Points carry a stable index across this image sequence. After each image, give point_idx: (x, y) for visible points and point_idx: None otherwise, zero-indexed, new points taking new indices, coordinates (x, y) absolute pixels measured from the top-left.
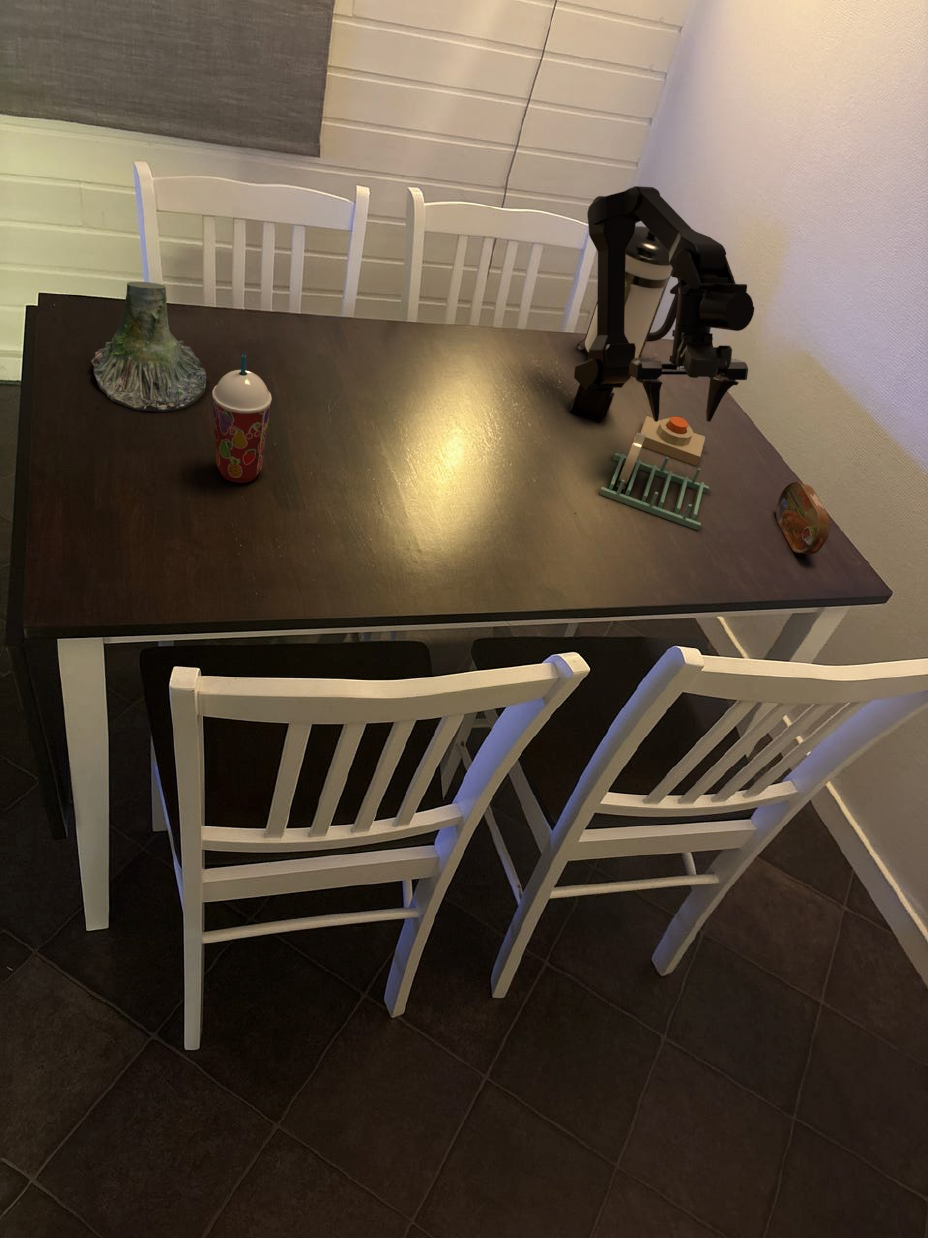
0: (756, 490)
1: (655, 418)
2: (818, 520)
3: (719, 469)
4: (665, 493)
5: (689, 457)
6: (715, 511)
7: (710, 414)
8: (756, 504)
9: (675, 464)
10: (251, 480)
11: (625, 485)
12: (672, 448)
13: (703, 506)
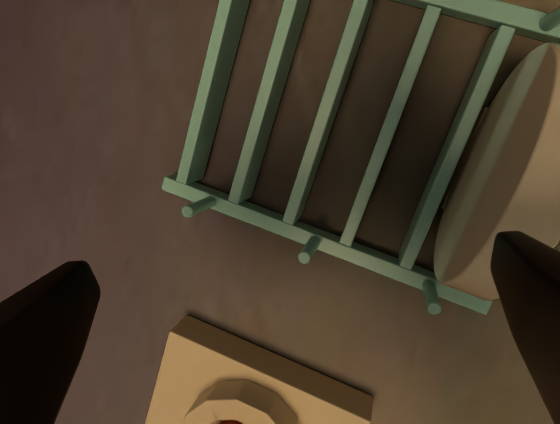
0: (31, 233)
1: (536, 240)
2: None
3: (120, 312)
4: (337, 58)
5: (204, 335)
6: (157, 84)
7: (46, 287)
8: (36, 163)
9: (251, 311)
10: None
11: (483, 116)
12: (257, 365)
13: (192, 99)
